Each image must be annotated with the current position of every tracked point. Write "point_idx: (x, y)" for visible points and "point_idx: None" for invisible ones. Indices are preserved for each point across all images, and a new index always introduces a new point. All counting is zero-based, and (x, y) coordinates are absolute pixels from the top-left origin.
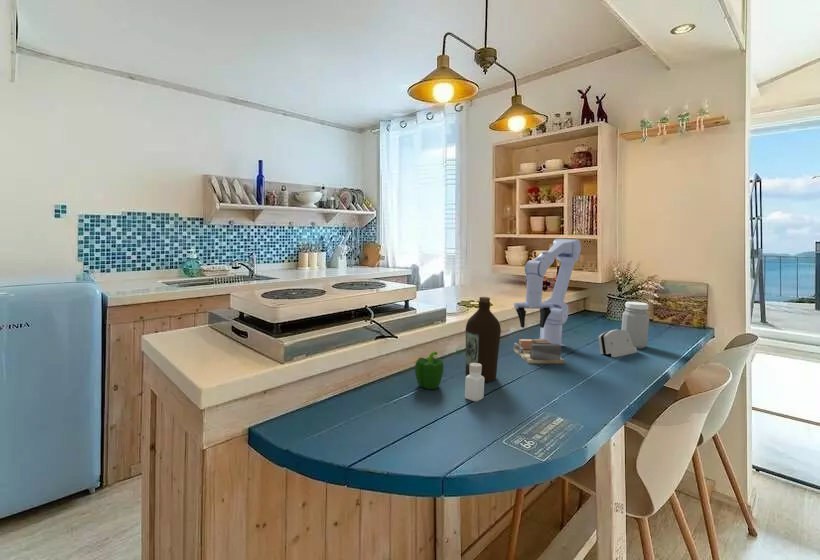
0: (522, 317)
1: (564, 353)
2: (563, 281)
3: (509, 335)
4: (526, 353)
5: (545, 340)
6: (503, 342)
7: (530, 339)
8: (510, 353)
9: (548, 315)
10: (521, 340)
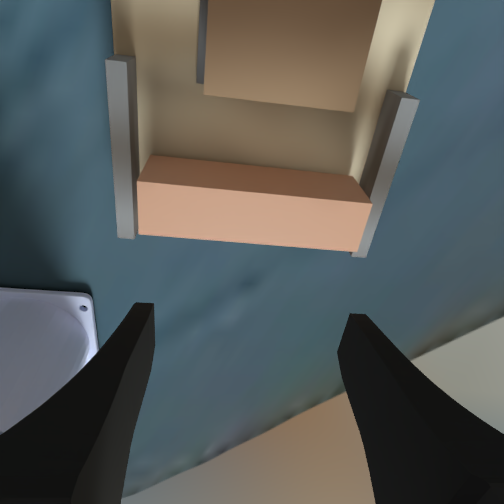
0: (439, 397)
1: (6, 135)
2: None
3: (218, 450)
4: (362, 82)
5: (226, 36)
6: (314, 364)
7: (266, 239)
8: (414, 169)
9: (30, 413)
10: (364, 214)
